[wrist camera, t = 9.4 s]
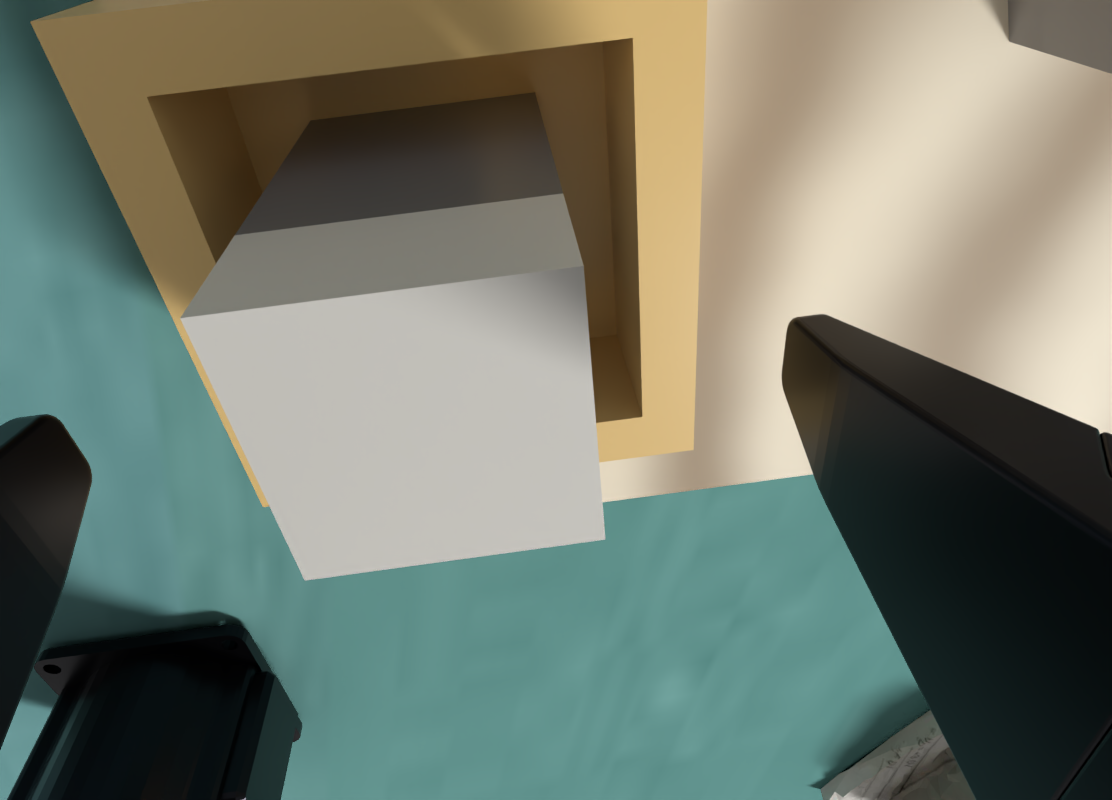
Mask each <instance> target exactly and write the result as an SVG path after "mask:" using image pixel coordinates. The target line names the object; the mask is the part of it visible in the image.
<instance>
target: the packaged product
mask: <svg viewBox="0 0 1112 800" xmlns="http://www.w3.org/2000/svg"><path fill="white" fill-rule="evenodd" d="M821 793H822V797H823V800H976V799H975V797H974V795H973V793H972V791H971V789H970V787H969V785H968V783H967V781H966V779H965V777H964V775H963V773H962V771H961V769H960V768H959V766H958V764H957V762H956V760H955V758H954V756H953V754H952V752H951V750H950V748H949V746H948V744H947V742H946V740H945V738H944V736H943V734H942V732H941V730H940V728H939V726H938V724H937V722H936V720H935V718H934V716H933V714H932V712H931V710H929V711H928V712H927V713H925V714H924V715H922V716H921V717H919V718H918V719H917V720H915V721H914V722H913V723H911V724H910V725H908V726H907V727H905V728H904V729H902V730H901V731H899V732H898V733H896V734H895V735H894V736H892V737H891V738H889V739H888V740H887V741H886V742H884V743H883V744H882V745H880V746H879V747H878V748H876V749H875V750H874V751H872V752H871V753H870V754H868V755H867V756H866V757H864V758H863V759H862V760H860V761H859V762H858V763H857V764H855V765H854V766H853V767H851V768H850V769H849V770H846V771H844V772H842V773H840V774H838V775H837V776H836V777H835V778H834V779H832V780H831V781H830V782H829V783H827V784H826V785H825V786H824V787H823V788H821Z"/></svg>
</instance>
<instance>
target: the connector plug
mask: <svg viewBox="0 0 1112 800" xmlns="http://www.w3.org/2000/svg"><path fill="white" fill-rule="evenodd" d="M180 319H181V321H182V324H183V326H184V328H185V330H186V332H187V334H188V336H189V338H190V340H191V342H192V345H193V347H194V349H195V351H196V353H197V355H198V357H199V359H200V361H201V363H202V366H203V368H204V370H205V372H206V374H207V376H208V378H209V380H210V382H211V384H212V387H213V389H214V391H215V393H216V395H217V397H218V399H219V401H220V403H221V405H222V408H223V410H224V412H225V414H226V416H227V418H228V420H229V422H230V424H231V426H232V429H233V431H234V433H235V435H236V437H237V439H238V441H239V443H240V445H241V447H242V450H243V452H244V454H245V456H246V458H247V460H248V462H249V464H250V466H251V468H252V471H253V473H254V475H255V477H256V479H257V481H258V483H259V485H260V487H261V489H262V492H263V494H264V496H265V498H266V500H267V502H268V504H269V506H270V508H271V510H272V513H273V515H274V517H275V519H276V521H277V523H278V525H279V527H280V529H281V531H282V534H283V536H284V538H285V540H286V542H287V544H288V546H289V548H290V550H291V552H292V555H293V557H294V559H295V561H296V563H297V565H298V567H299V569H300V571H301V573H302V576H303V578H304V580H312V579H320V578H327V577H334V576H342V575H349V574H356V573H364V572H371V571H378V570H385V569H393V568H400V567H407V566H415V565H422V564H429V563H437V562H444V561H451V560H459V559H466V558H473V557H481V556H488V555H495V554H503V553H510V552H517V551H524V550H532V549H539V548H546V547H554V546H561V545H568V544H576V543H583V542H590V541H598V540H605V529H604V517H603V504H602V491H601V479H600V466H599V454H598V441H597V428H596V416H595V403H594V391H593V378H592V365H591V353H590V340H589V328H588V315H587V302H586V290H585V277H584V266H583V262H582V258H581V255H580V251H579V248H578V244H577V241H576V237H575V233H574V230H573V226H572V223H571V219H570V216H569V212H568V209H567V205H566V201H565V198H564V194H563V191H562V187H561V184H560V180H559V177H558V173H557V169H556V166H555V162H554V159H553V155H552V152H551V148H550V145H549V141H548V137H547V134H546V130H545V127H544V123H543V120H542V116H541V112H540V109H539V105H538V102H537V98H536V95H535V92H533V93H525V94H517V95H509V96H501V97H493V98H485V99H478V100H470V101H462V102H454V103H446V104H438V105H430V106H422V107H414V108H406V109H398V110H390V111H382V112H374V113H366V114H358V115H350V116H342V117H334V118H326V119H318V120H311V121H310V122H309V124H308V125H307V127H306V128H305V130H304V131H303V133H302V134H301V136H300V137H299V139H298V140H297V142H296V143H295V145H294V146H293V148H292V149H291V151H290V152H289V154H288V155H287V157H286V158H285V160H284V161H283V163H282V164H281V166H280V168H279V169H278V171H277V172H276V174H275V175H274V177H273V178H272V180H271V181H270V183H269V184H268V186H267V187H266V189H265V190H264V192H263V193H262V195H261V196H260V198H259V199H258V201H257V202H256V204H255V205H254V207H253V208H252V210H251V211H250V213H249V214H248V216H247V218H246V219H245V221H244V222H243V224H242V225H241V227H240V228H239V230H238V231H237V233H236V234H235V236H234V237H233V239H232V240H231V242H230V243H229V245H228V246H227V248H226V249H225V251H224V252H223V254H222V255H221V257H220V258H219V260H218V261H217V263H216V265H215V266H214V268H213V269H212V271H211V272H210V274H209V275H208V277H207V278H206V280H205V281H204V283H203V284H202V286H201V287H200V289H199V290H198V292H197V293H196V295H195V296H194V298H193V299H192V301H191V302H190V304H189V305H188V307H187V308H186V310H185V311H184V313H183V315H182V316H181V318H180Z"/></svg>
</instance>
